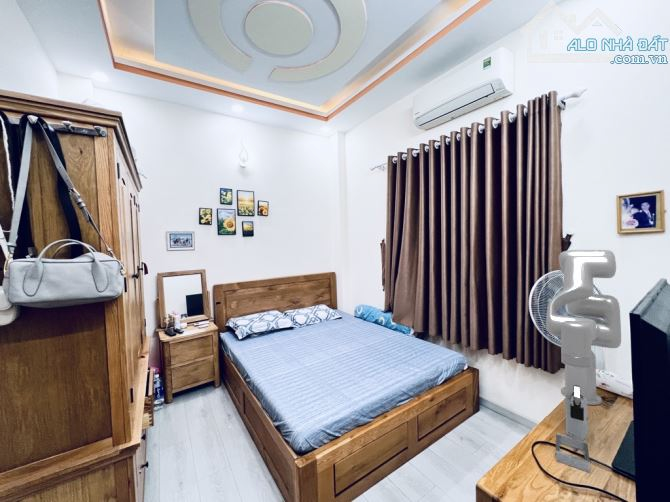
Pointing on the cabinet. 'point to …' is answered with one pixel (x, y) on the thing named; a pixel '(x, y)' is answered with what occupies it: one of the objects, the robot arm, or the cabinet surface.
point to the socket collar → (568, 458)
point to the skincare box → (576, 421)
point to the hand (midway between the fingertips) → (576, 412)
